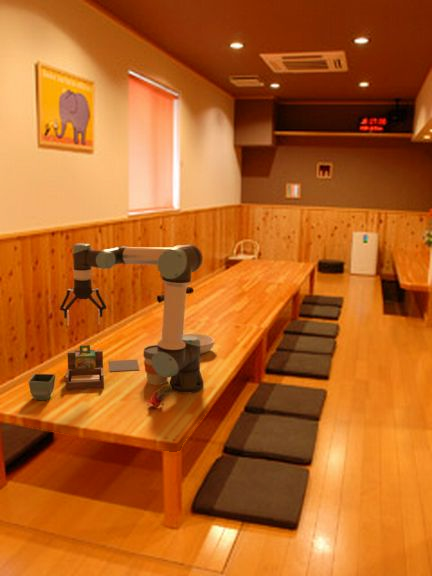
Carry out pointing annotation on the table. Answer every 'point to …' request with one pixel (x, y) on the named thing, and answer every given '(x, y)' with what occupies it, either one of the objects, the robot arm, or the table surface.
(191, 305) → the table surface
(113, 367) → the rubber mat
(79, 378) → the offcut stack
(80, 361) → the chalk box
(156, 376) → the reusable coffee cup
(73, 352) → the walnut rack
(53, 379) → the flower pot
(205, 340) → the serving bowl
